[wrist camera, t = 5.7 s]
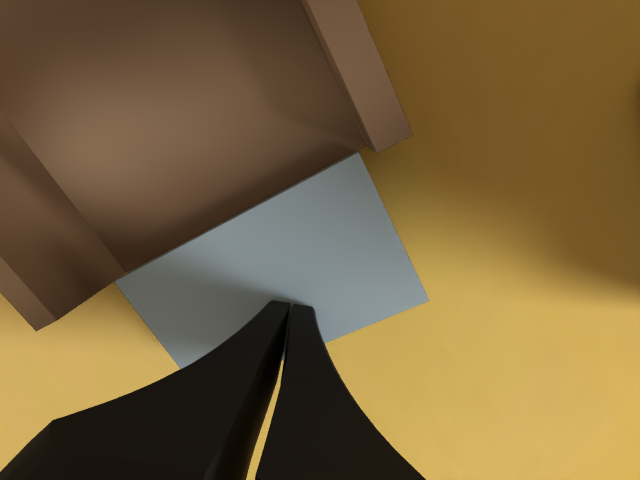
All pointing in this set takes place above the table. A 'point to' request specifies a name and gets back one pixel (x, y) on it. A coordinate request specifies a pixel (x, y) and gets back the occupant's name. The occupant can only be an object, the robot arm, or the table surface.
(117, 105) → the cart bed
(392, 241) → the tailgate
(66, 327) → the table surface
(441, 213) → the table surface
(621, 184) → the table surface
